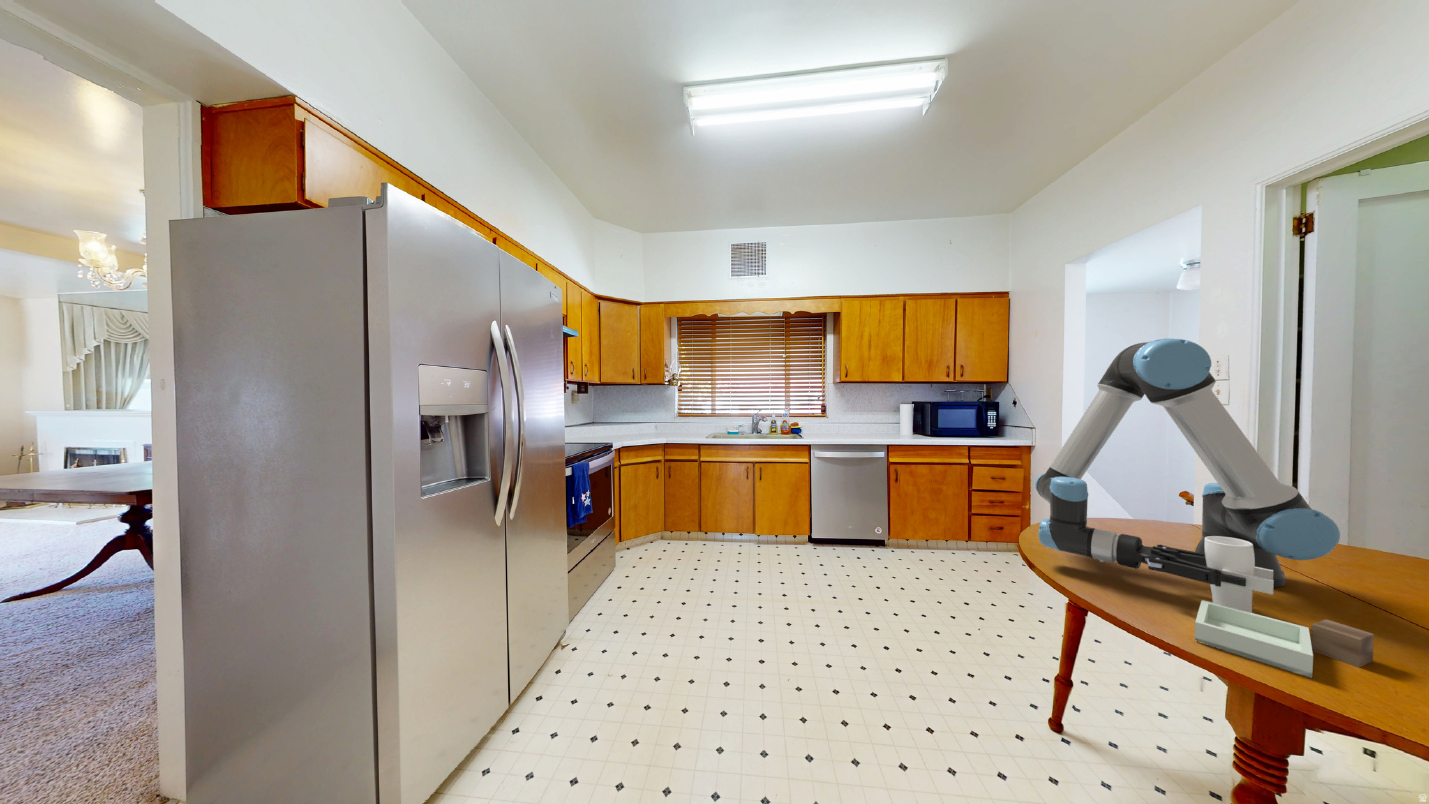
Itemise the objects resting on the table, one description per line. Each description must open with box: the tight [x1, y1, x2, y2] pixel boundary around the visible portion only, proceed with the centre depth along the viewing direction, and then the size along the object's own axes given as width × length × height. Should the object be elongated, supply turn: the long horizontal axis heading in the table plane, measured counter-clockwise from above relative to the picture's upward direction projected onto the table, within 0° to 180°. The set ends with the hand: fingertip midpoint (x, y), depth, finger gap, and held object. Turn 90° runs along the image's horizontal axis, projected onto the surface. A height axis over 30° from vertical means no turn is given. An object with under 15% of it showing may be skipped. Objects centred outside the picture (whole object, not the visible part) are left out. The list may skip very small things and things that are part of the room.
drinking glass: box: [1204, 536, 1255, 613], centre depth 90 cm, size 7×7×15 cm
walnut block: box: [1310, 618, 1375, 669], centre depth 76 cm, size 5×5×5 cm
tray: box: [1194, 599, 1314, 679], centre depth 80 cm, size 13×13×4 cm
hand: (1272, 582), depth 86 cm, fingers closed on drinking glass, 6 cm apart
